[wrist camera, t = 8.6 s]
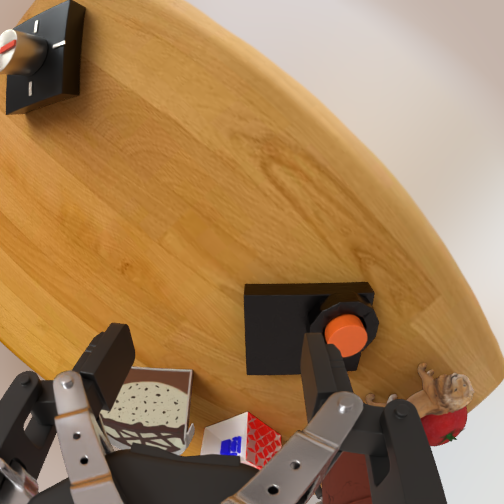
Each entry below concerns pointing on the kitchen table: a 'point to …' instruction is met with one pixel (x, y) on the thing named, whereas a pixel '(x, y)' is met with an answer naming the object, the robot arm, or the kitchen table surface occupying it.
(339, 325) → the button
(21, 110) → the dial panel
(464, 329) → the kitchen table surface
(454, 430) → the tomato
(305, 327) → the black button box
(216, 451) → the red white box
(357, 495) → the potted plant
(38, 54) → the dial
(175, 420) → the food container
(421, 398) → the lion figurine
